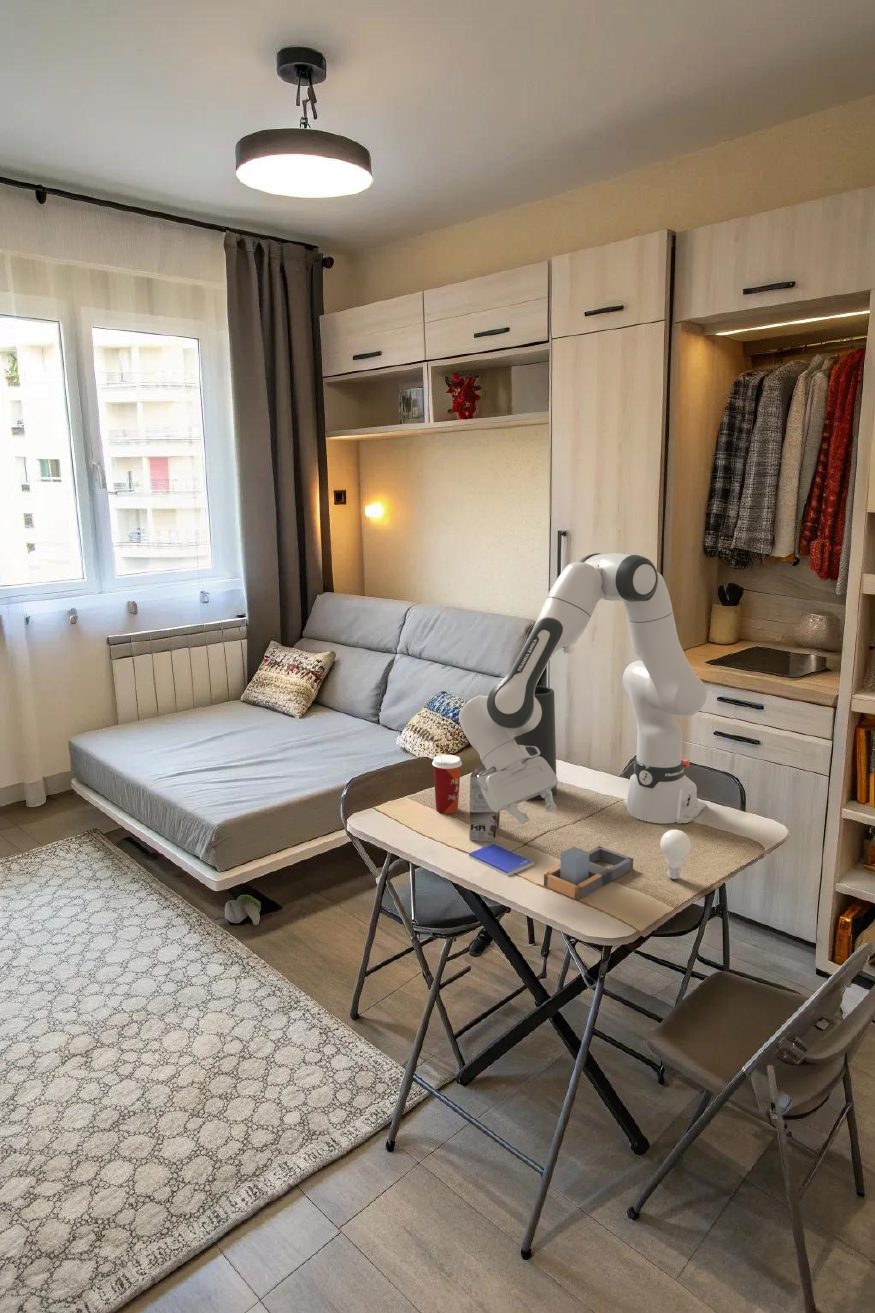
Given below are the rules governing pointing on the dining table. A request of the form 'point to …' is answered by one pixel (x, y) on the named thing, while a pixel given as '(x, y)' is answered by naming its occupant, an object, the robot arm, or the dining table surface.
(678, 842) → the lightbulb
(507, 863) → the hard drive
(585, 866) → the plug
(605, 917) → the dining table surface
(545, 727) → the vase
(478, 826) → the coffee box
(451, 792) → the paper cup
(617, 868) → the grey orange rectangular frame
